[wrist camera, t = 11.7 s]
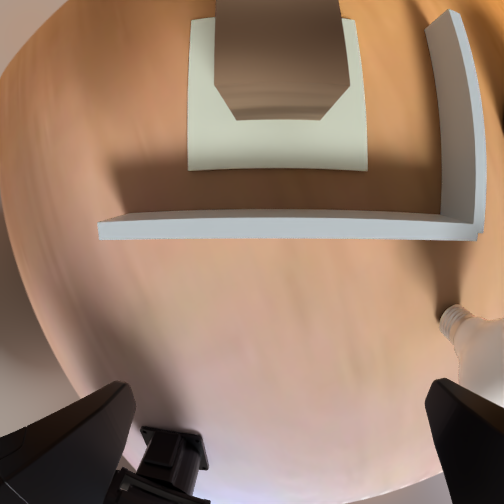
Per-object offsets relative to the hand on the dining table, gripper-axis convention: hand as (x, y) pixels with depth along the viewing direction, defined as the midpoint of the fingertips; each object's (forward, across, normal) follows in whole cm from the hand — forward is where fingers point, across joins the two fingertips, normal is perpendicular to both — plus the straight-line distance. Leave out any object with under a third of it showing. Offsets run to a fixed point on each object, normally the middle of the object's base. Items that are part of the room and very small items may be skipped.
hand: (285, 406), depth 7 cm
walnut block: (+12, 0, -12) cm, 17 cm away
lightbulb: (+12, -14, +4) cm, 19 cm away
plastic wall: (+12, -1, -11) cm, 16 cm away
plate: (+12, 0, -12) cm, 17 cm away
